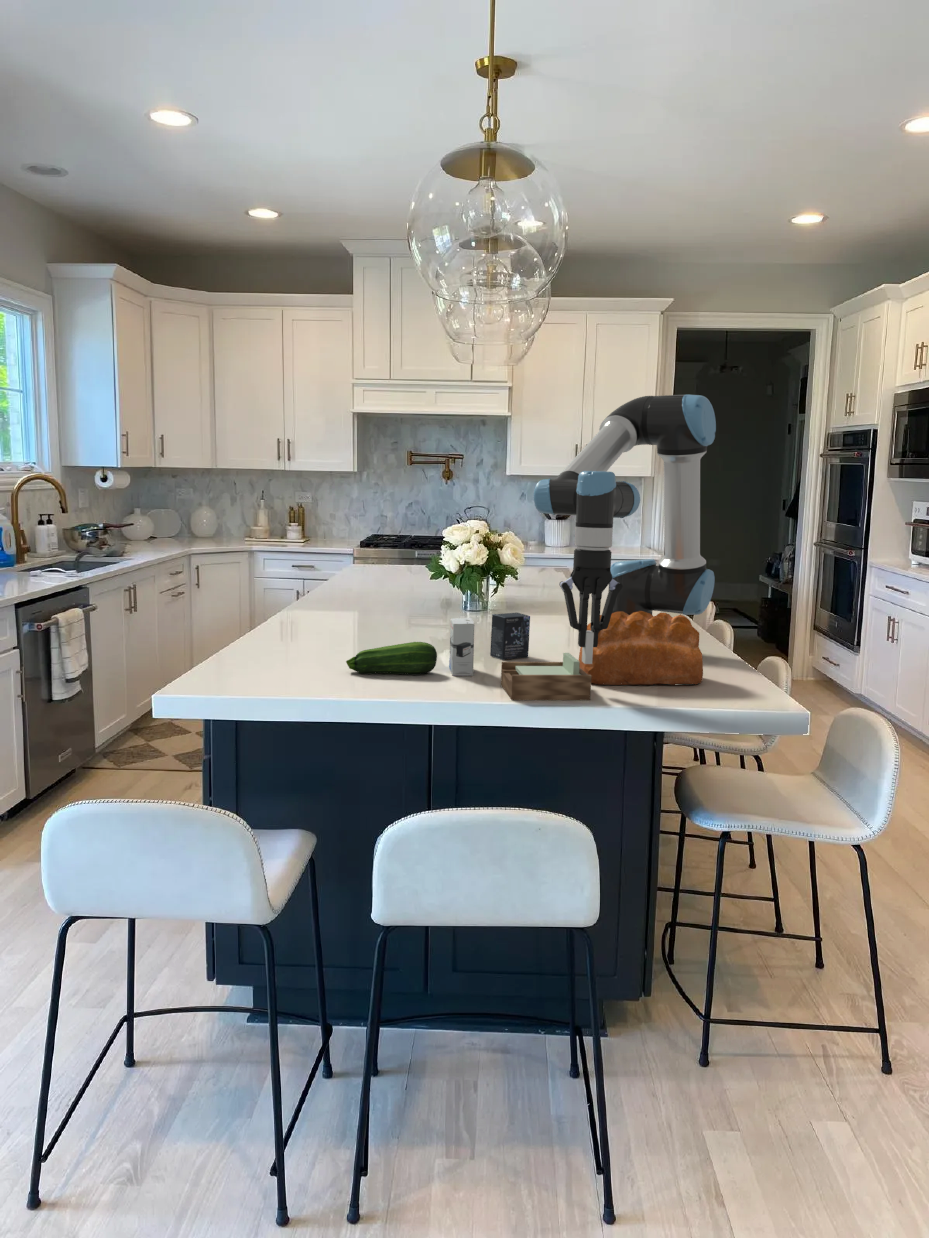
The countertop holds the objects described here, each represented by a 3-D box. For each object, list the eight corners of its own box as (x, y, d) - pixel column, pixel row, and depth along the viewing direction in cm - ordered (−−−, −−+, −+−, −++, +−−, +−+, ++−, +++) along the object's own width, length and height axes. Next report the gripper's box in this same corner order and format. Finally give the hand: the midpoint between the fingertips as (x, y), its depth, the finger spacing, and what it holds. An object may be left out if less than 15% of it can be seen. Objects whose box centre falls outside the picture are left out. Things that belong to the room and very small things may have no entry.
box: (503, 660, 216) (504, 617, 214) (489, 656, 221) (491, 613, 219) (529, 657, 220) (530, 615, 219) (515, 653, 225) (517, 611, 223)
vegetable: (437, 637, 197) (345, 637, 195) (437, 669, 194) (344, 669, 193) (436, 647, 204) (347, 646, 202) (436, 678, 201) (346, 677, 200)
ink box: (448, 667, 206) (450, 617, 204) (470, 668, 206) (471, 617, 205) (451, 676, 198) (452, 623, 196) (473, 676, 198) (475, 623, 196)
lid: (571, 669, 191) (571, 652, 190) (583, 680, 180) (584, 662, 180) (515, 669, 189) (515, 651, 188) (524, 680, 179) (525, 662, 178)
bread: (707, 687, 194) (712, 617, 192) (587, 687, 192) (591, 615, 189) (685, 673, 208) (690, 607, 206) (573, 672, 205) (576, 605, 203)
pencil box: (574, 684, 193) (575, 661, 192) (590, 699, 180) (591, 675, 179) (500, 684, 191) (501, 661, 190) (511, 700, 178) (512, 675, 177)
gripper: (618, 547, 186) (612, 659, 190) (557, 546, 184) (551, 658, 188) (629, 550, 179) (622, 666, 182) (565, 549, 177) (560, 666, 181)
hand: (586, 662), depth 185 cm, fingers closed
